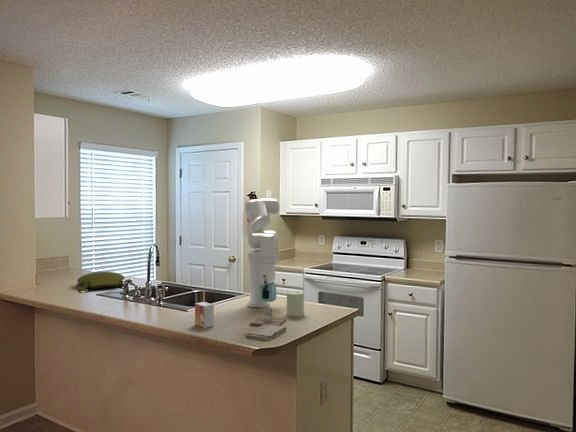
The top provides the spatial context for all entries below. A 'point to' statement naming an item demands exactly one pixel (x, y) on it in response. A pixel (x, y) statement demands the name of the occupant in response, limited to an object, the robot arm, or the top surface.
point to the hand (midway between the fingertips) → (268, 296)
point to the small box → (204, 314)
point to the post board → (275, 322)
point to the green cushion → (100, 280)
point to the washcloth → (265, 332)
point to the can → (295, 303)
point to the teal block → (271, 292)
